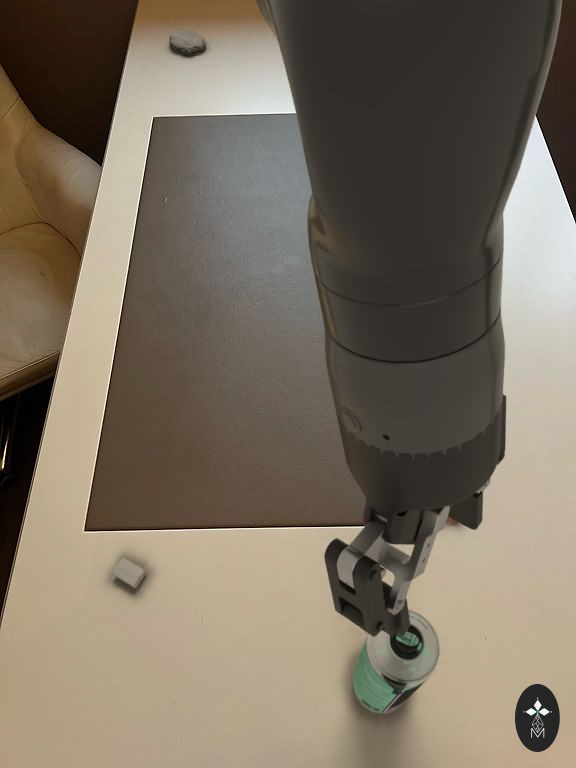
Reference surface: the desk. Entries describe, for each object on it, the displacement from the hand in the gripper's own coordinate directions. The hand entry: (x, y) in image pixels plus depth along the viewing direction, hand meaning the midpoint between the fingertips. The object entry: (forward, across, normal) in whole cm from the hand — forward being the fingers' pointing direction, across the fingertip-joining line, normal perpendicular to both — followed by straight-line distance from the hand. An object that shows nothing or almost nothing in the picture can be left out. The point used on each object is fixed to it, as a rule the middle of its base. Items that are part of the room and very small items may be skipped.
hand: (430, 568), depth 39 cm
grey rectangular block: (+21, -9, +32) cm, 40 cm away
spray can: (+28, 0, +7) cm, 28 cm away
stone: (-3, +73, +100) cm, 124 cm away
